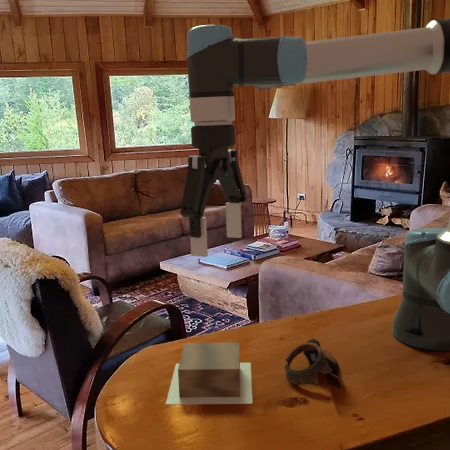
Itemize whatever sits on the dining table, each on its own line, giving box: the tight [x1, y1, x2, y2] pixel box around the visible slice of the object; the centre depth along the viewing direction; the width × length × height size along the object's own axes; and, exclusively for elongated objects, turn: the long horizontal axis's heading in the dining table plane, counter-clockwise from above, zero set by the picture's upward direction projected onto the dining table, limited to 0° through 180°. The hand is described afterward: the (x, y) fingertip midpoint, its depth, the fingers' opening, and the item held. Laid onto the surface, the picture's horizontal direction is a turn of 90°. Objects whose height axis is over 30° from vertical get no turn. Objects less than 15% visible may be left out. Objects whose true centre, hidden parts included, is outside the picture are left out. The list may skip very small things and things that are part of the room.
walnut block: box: [178, 342, 241, 397], centre depth 91 cm, size 10×10×5 cm
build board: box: [165, 362, 253, 405], centre depth 91 cm, size 14×14×2 cm
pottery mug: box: [284, 338, 344, 388], centre depth 93 cm, size 12×10×8 cm
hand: (218, 245), depth 93 cm, fingers open, 13 cm apart
